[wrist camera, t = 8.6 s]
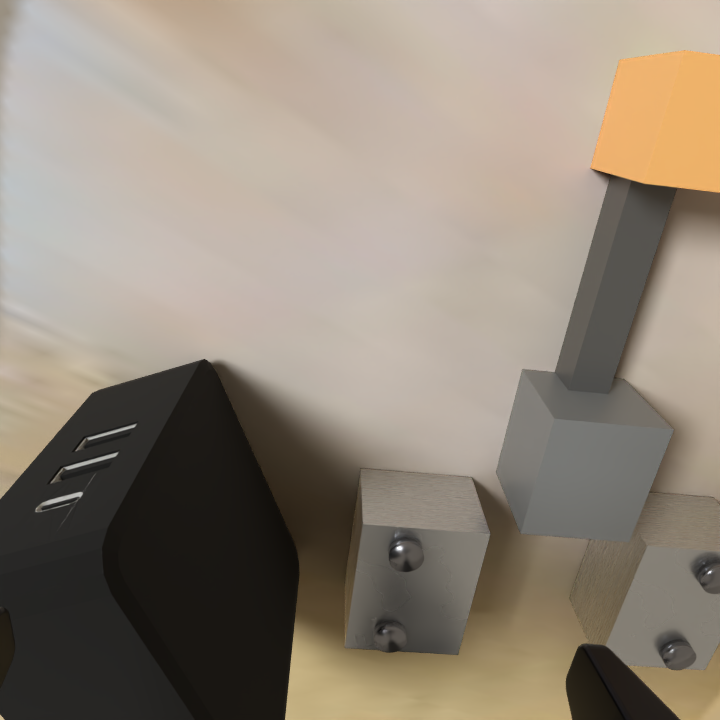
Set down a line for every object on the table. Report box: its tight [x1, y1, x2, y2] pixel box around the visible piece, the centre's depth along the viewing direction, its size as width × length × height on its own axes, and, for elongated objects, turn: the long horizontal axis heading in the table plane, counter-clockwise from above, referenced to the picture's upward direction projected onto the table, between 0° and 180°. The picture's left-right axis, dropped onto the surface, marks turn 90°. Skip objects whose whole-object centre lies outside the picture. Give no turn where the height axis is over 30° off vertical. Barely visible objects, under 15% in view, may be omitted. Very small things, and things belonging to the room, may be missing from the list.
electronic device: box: [0, 359, 299, 720], centre depth 18 cm, size 4×10×10 cm, turn 17°
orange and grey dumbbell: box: [496, 50, 720, 542], centre depth 18 cm, size 16×4×4 cm, turn 173°
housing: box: [345, 468, 720, 670], centre depth 22 cm, size 6×14×4 cm, turn 83°
